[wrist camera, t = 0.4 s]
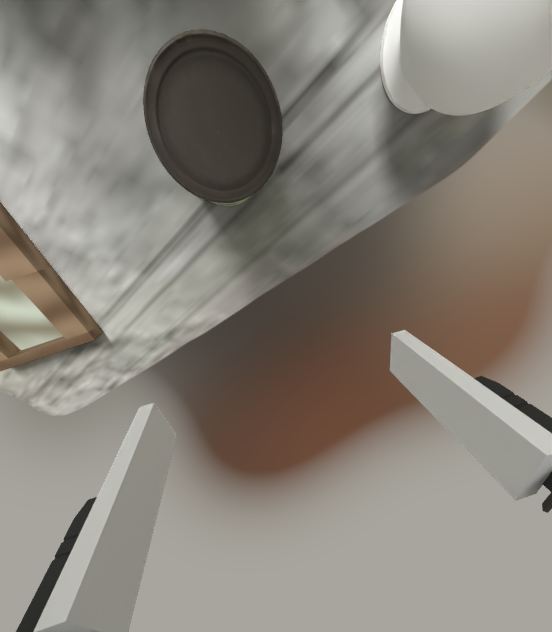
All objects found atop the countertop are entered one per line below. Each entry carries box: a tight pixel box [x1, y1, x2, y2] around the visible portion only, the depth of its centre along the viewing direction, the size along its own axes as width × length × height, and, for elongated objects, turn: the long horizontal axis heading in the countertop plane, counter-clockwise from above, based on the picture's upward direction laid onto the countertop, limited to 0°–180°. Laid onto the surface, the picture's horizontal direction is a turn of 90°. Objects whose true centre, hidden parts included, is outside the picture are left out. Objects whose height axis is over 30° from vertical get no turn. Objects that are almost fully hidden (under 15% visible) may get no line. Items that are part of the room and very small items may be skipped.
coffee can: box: [143, 29, 282, 206], centre depth 23 cm, size 10×10×14 cm
